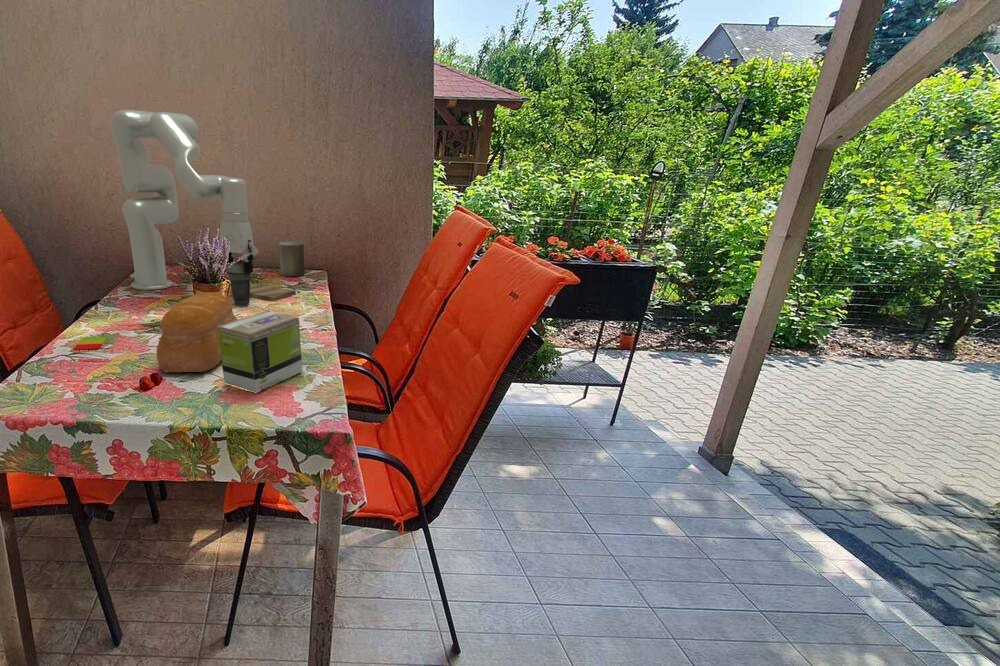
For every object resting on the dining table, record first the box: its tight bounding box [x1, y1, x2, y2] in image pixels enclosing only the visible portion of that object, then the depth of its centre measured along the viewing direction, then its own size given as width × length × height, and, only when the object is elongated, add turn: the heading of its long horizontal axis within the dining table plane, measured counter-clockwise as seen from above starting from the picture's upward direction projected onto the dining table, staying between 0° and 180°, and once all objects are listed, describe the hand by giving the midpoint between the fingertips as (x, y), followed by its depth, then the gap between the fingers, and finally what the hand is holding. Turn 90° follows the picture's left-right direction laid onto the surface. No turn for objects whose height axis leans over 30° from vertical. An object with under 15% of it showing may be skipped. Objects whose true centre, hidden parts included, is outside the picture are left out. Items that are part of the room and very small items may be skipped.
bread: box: [156, 292, 239, 373], centre depth 135 cm, size 14×26×15 cm, turn 9°
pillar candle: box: [278, 239, 306, 278], centre depth 225 cm, size 10×10×15 cm
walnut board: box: [250, 283, 297, 302], centre depth 195 cm, size 18×12×2 cm, turn 71°
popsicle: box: [72, 336, 109, 351], centre depth 139 cm, size 6×15×2 cm, turn 22°
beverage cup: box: [226, 253, 252, 308], centre depth 177 cm, size 7×7×20 cm
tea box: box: [218, 310, 303, 392], centre depth 124 cm, size 15×10×15 cm, turn 157°
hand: (239, 271), depth 177 cm, fingers closed on beverage cup, 7 cm apart
